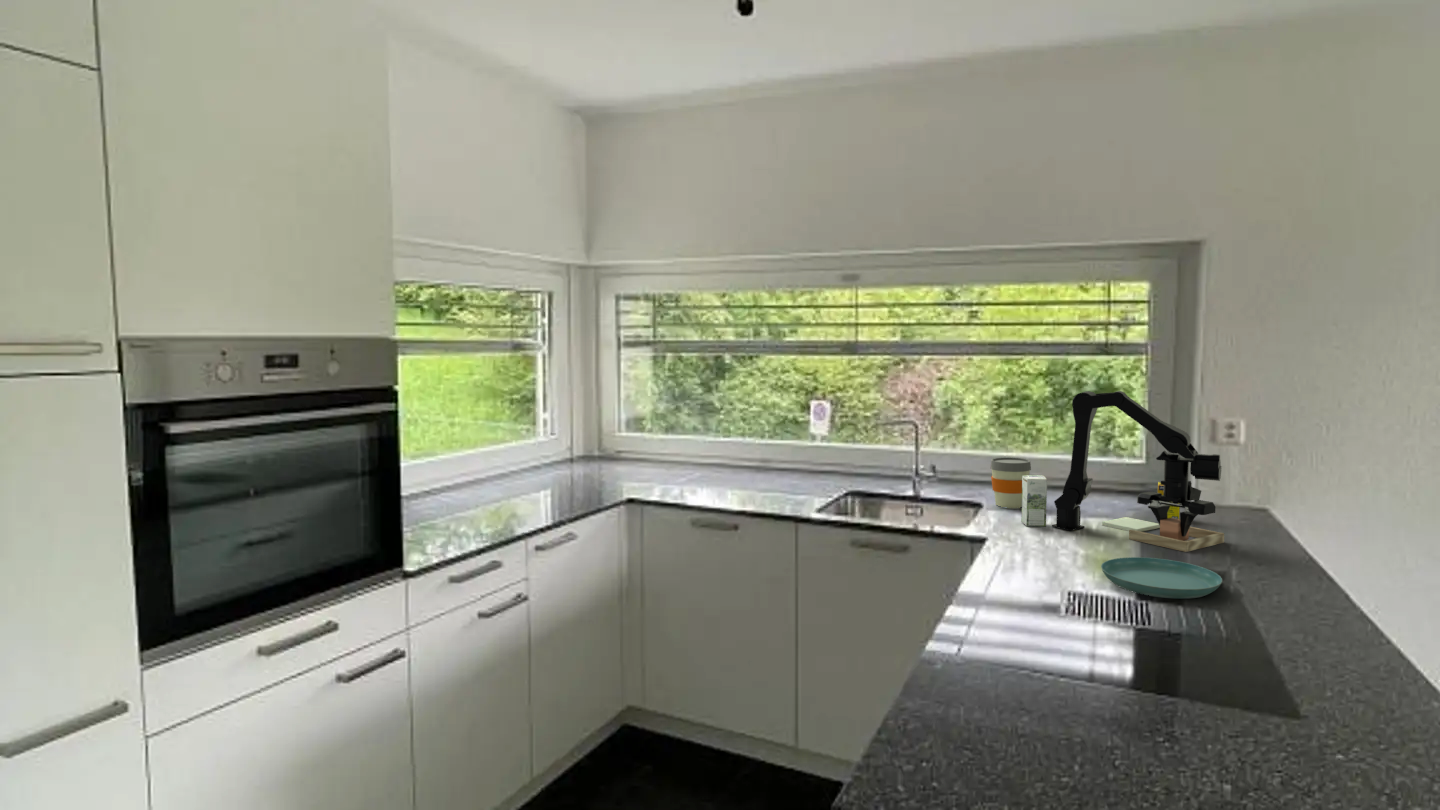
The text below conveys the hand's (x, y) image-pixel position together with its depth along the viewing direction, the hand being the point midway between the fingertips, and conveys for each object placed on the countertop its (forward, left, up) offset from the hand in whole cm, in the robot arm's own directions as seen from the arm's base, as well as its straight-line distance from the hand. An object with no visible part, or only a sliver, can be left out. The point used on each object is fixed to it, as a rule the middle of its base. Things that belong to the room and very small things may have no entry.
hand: (1174, 534), depth 225 cm
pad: (+5, +16, -2) cm, 17 cm away
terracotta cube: (0, 0, -1) cm, 1 cm away
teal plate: (-39, -21, -2) cm, 44 cm away
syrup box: (-16, +33, -2) cm, 37 cm away
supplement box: (+21, +15, -2) cm, 26 cm away
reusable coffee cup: (-1, +55, -2) cm, 55 cm away
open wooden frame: (0, 0, -2) cm, 2 cm away
